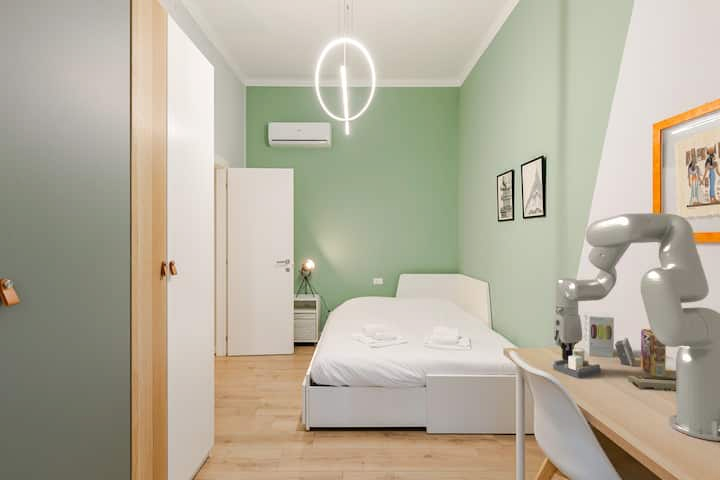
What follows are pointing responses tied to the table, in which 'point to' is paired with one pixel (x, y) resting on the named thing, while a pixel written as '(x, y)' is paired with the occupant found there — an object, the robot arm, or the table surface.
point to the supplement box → (599, 334)
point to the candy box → (652, 354)
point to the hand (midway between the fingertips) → (567, 359)
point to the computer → (653, 383)
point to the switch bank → (579, 372)
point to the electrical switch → (625, 352)
